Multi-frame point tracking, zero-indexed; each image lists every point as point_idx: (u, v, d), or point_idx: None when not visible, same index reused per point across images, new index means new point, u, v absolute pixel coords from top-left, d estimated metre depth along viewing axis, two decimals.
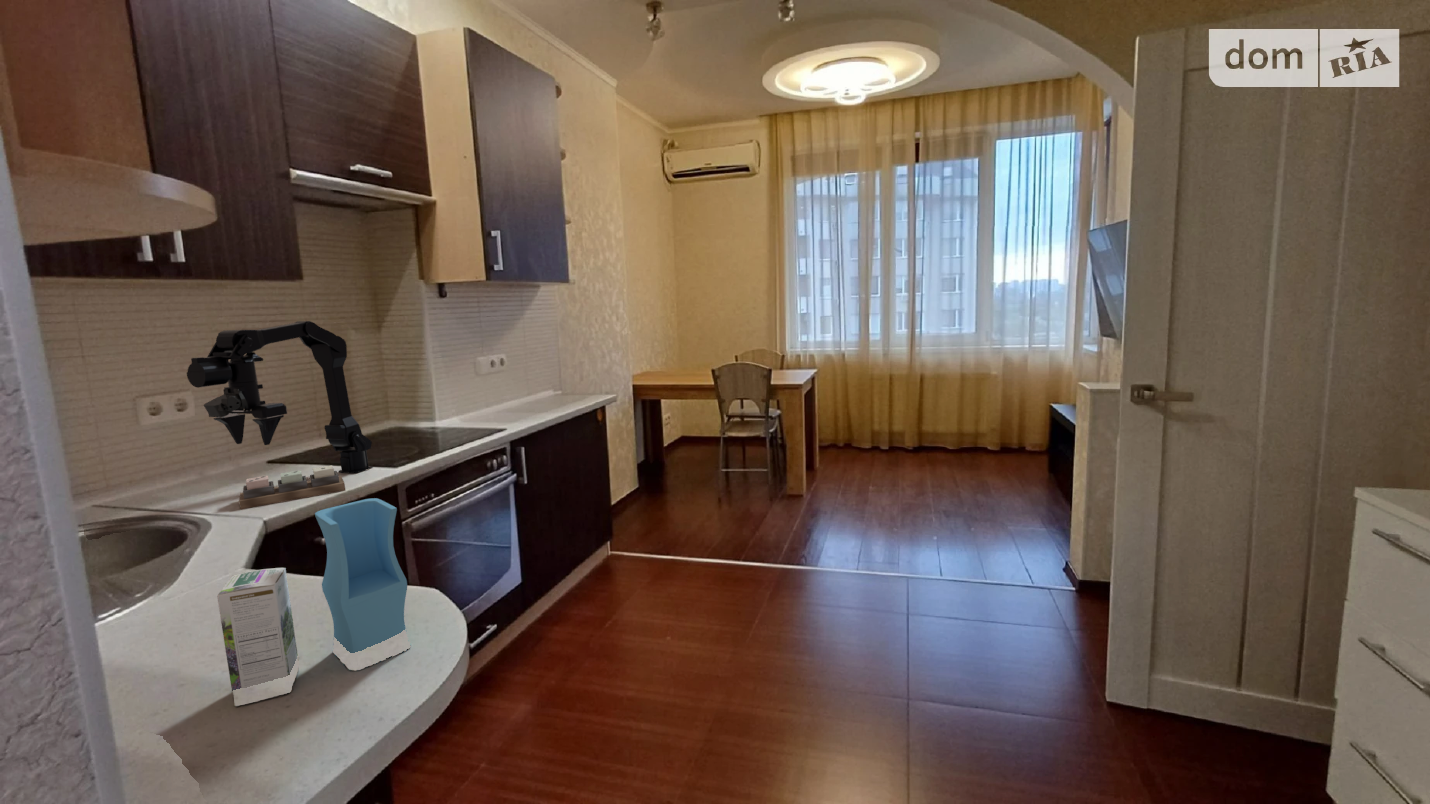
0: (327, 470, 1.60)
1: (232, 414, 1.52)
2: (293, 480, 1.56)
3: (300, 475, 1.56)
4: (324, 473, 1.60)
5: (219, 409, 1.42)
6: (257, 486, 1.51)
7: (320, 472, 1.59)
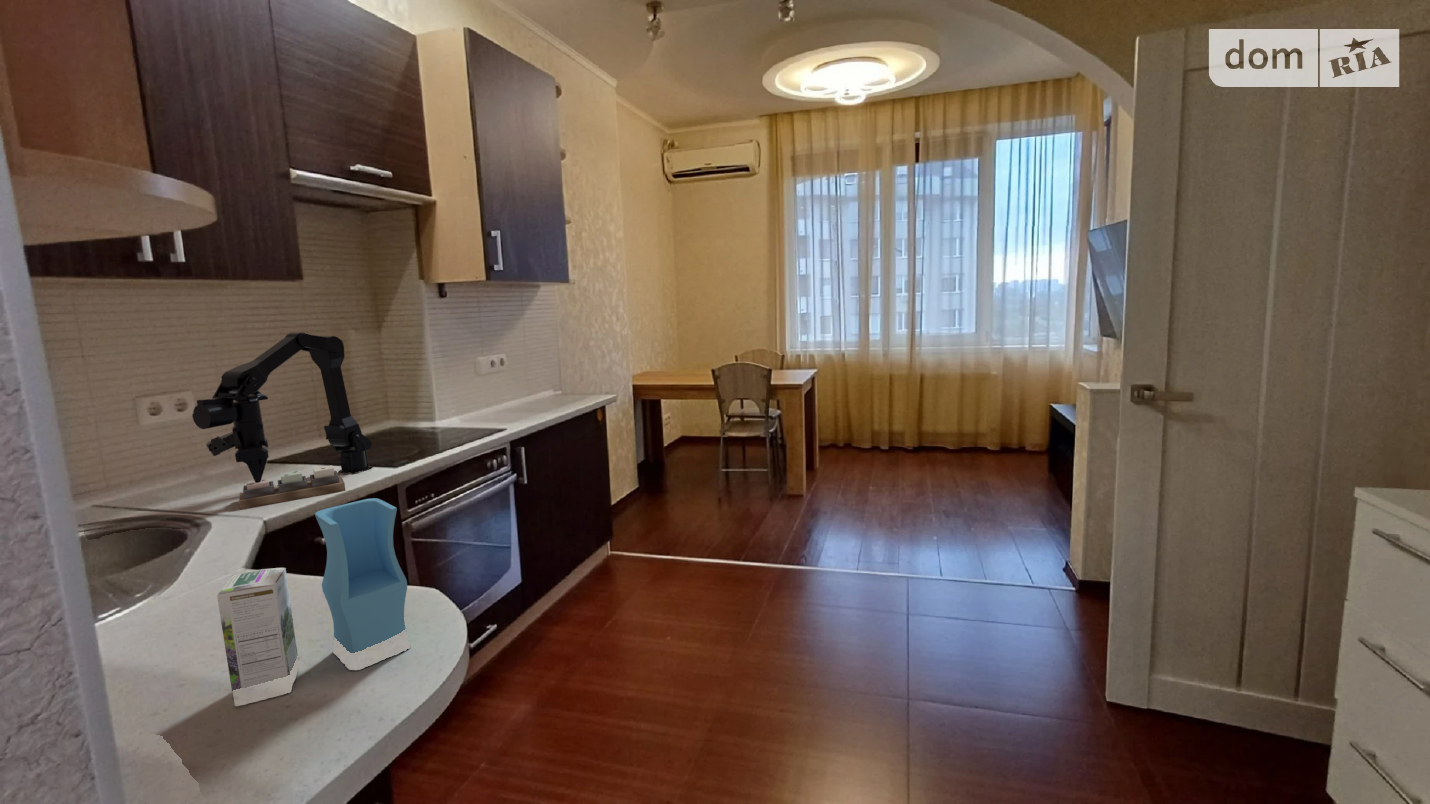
0: (327, 470, 1.60)
1: None
2: (293, 480, 1.56)
3: (300, 475, 1.56)
4: (324, 473, 1.60)
5: (209, 449, 1.45)
6: None
7: (320, 472, 1.59)
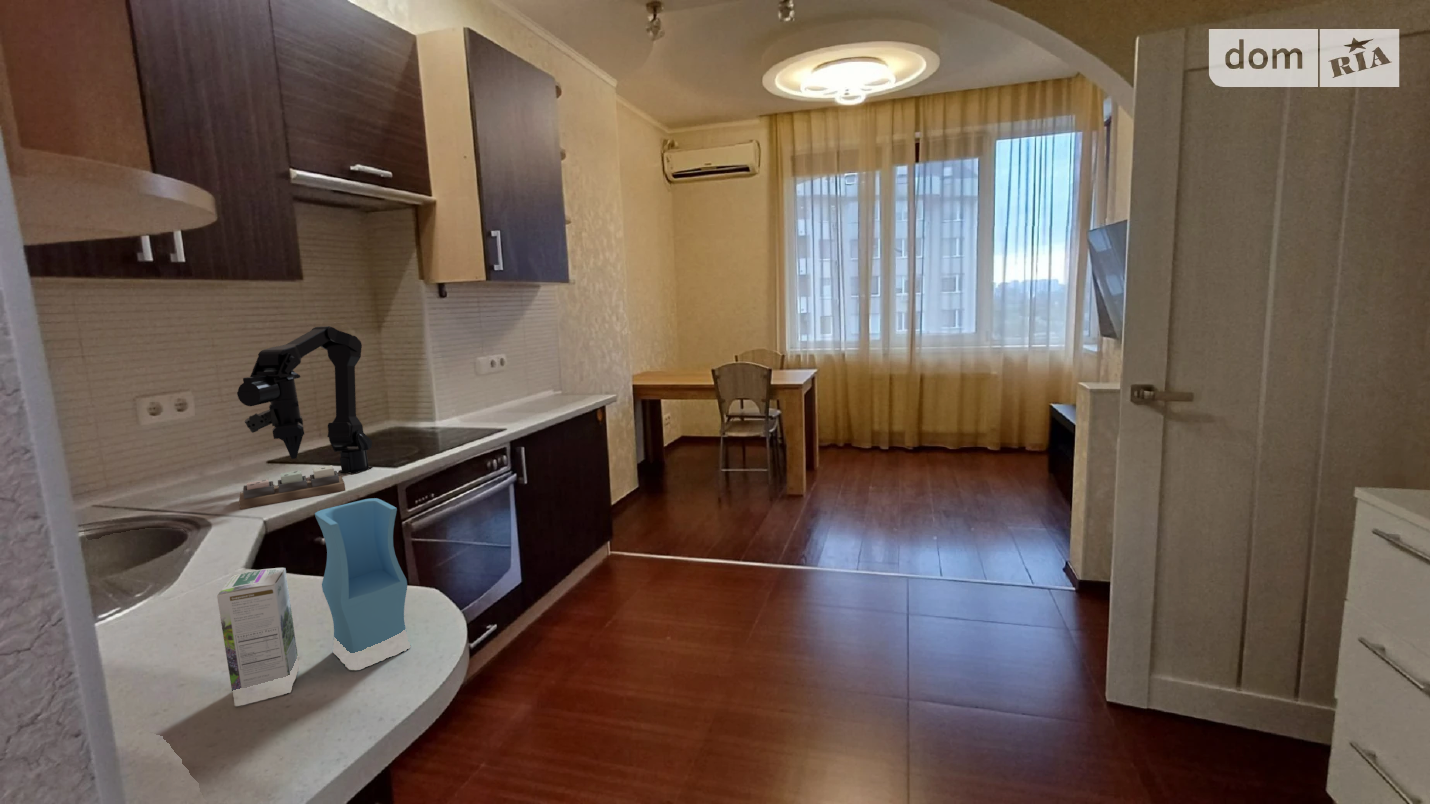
0: (327, 470, 1.60)
1: None
2: (293, 480, 1.56)
3: (300, 475, 1.56)
4: (324, 473, 1.60)
5: None
6: None
7: (320, 472, 1.59)
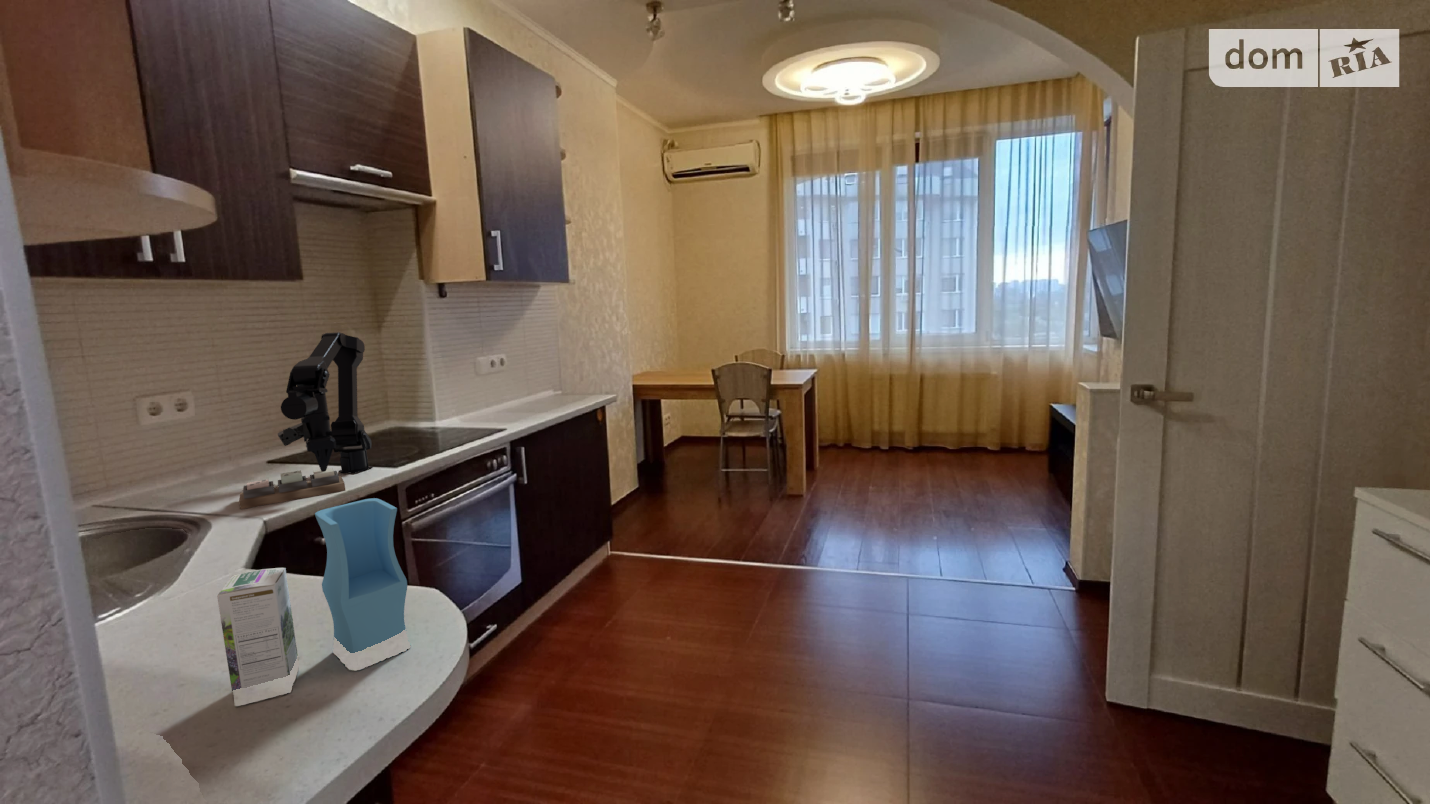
0: (327, 473, 1.60)
1: None
2: (293, 480, 1.56)
3: (300, 475, 1.56)
4: (324, 476, 1.60)
5: (280, 439, 1.53)
6: None
7: (320, 475, 1.59)
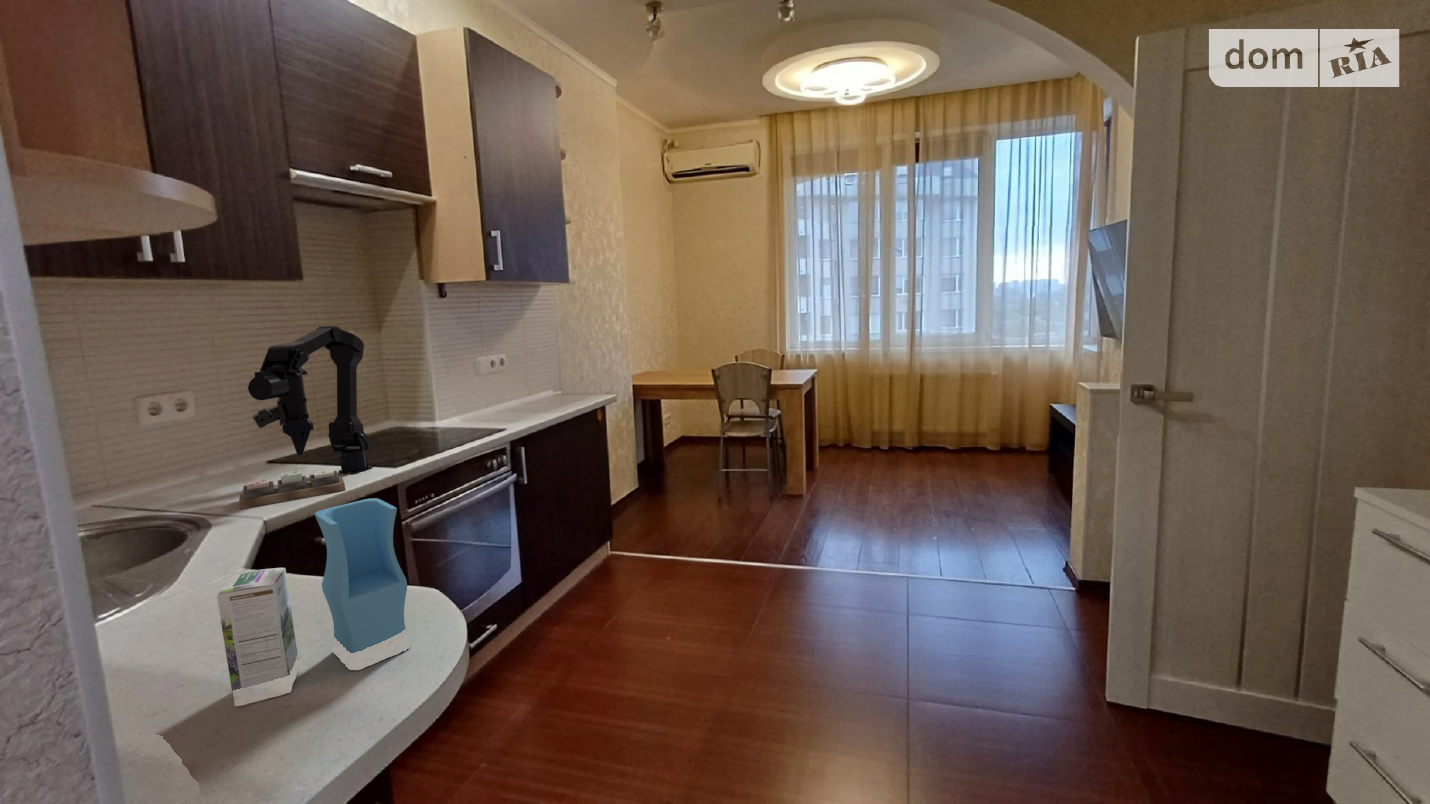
0: (327, 474, 1.60)
1: None
2: (293, 480, 1.56)
3: (300, 475, 1.56)
4: None
5: (255, 421, 1.49)
6: None
7: (320, 476, 1.59)
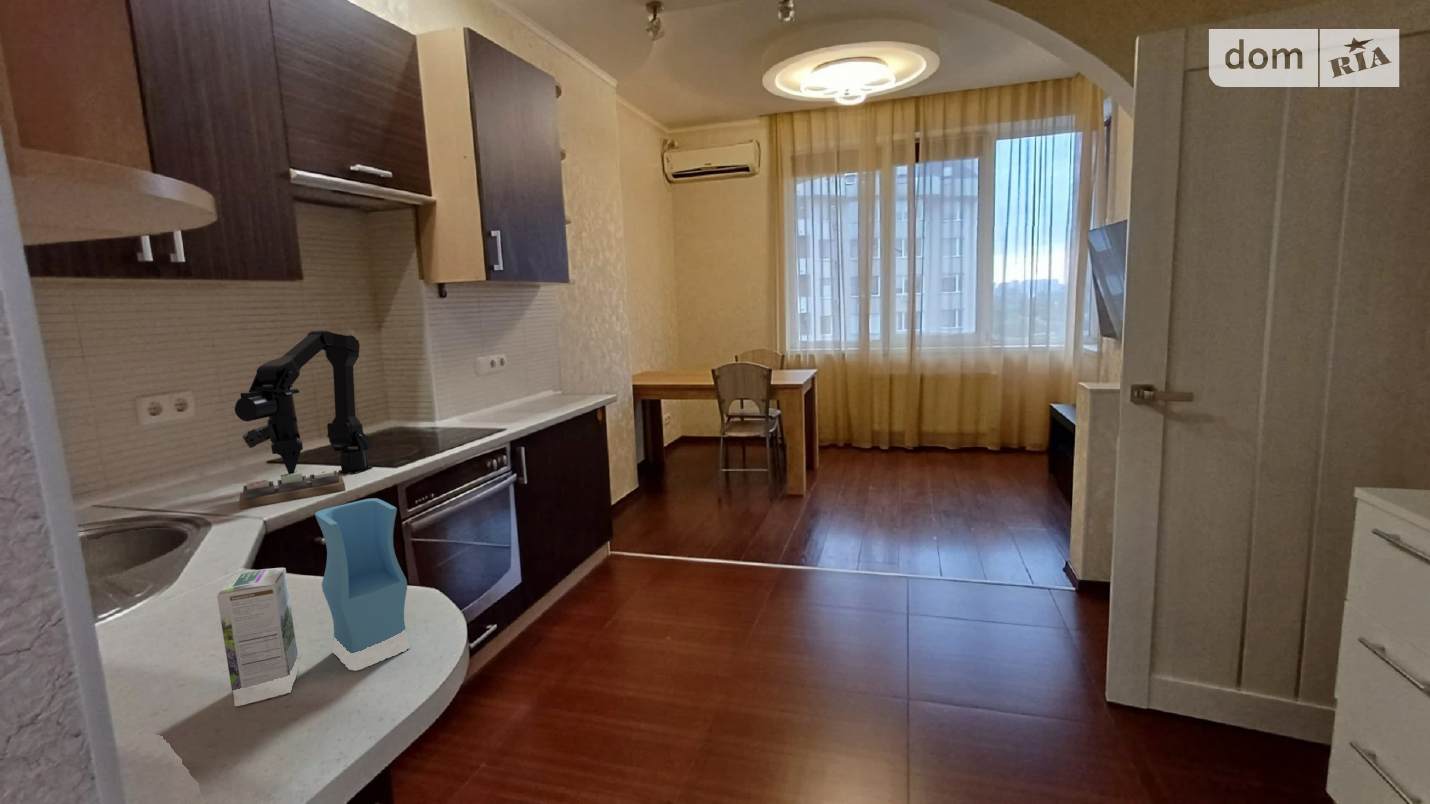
0: (327, 474, 1.60)
1: None
2: (293, 480, 1.56)
3: (300, 475, 1.56)
4: None
5: None
6: None
7: (320, 476, 1.59)
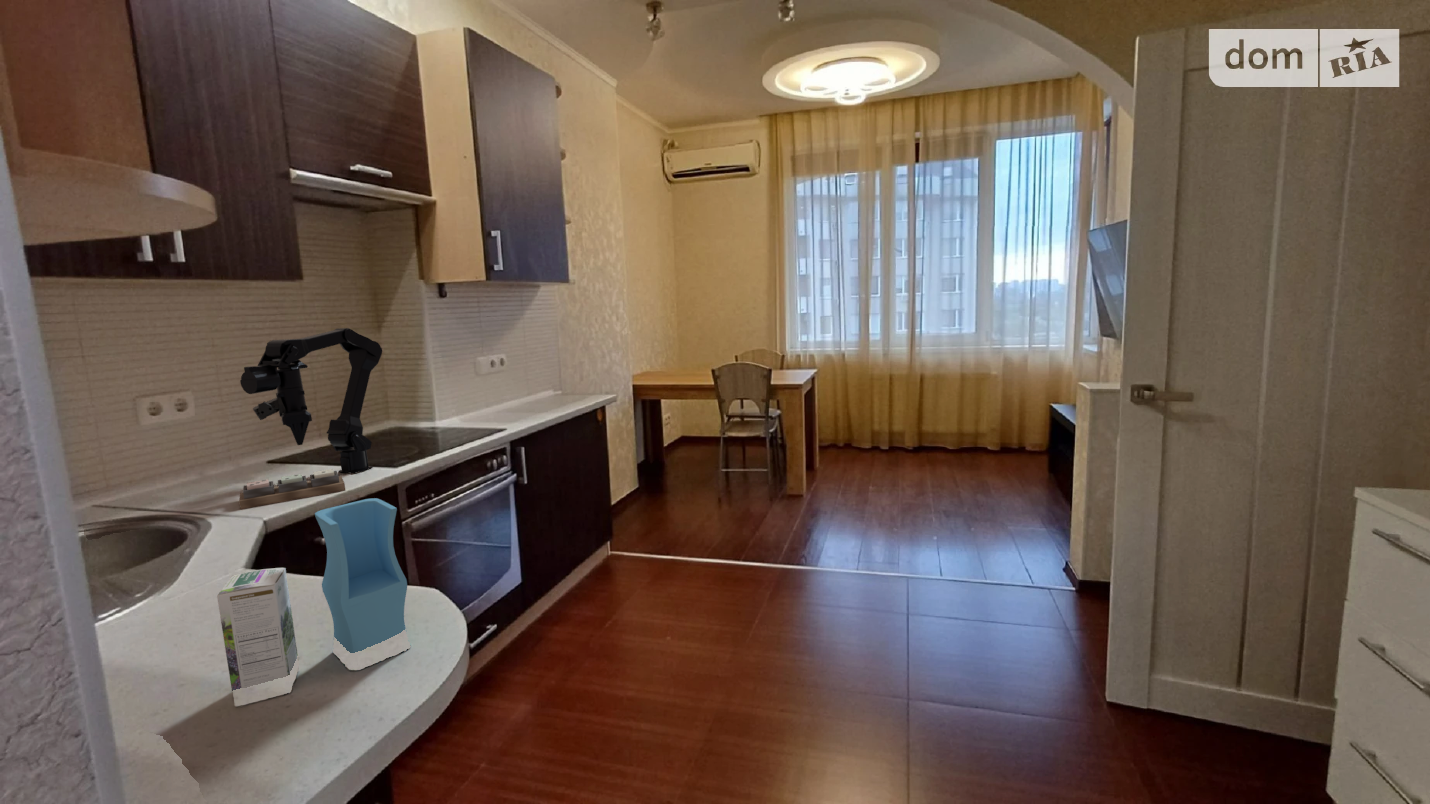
0: (327, 474, 1.60)
1: None
2: None
3: (301, 479, 1.57)
4: None
5: (256, 413, 1.56)
6: None
7: (320, 476, 1.59)
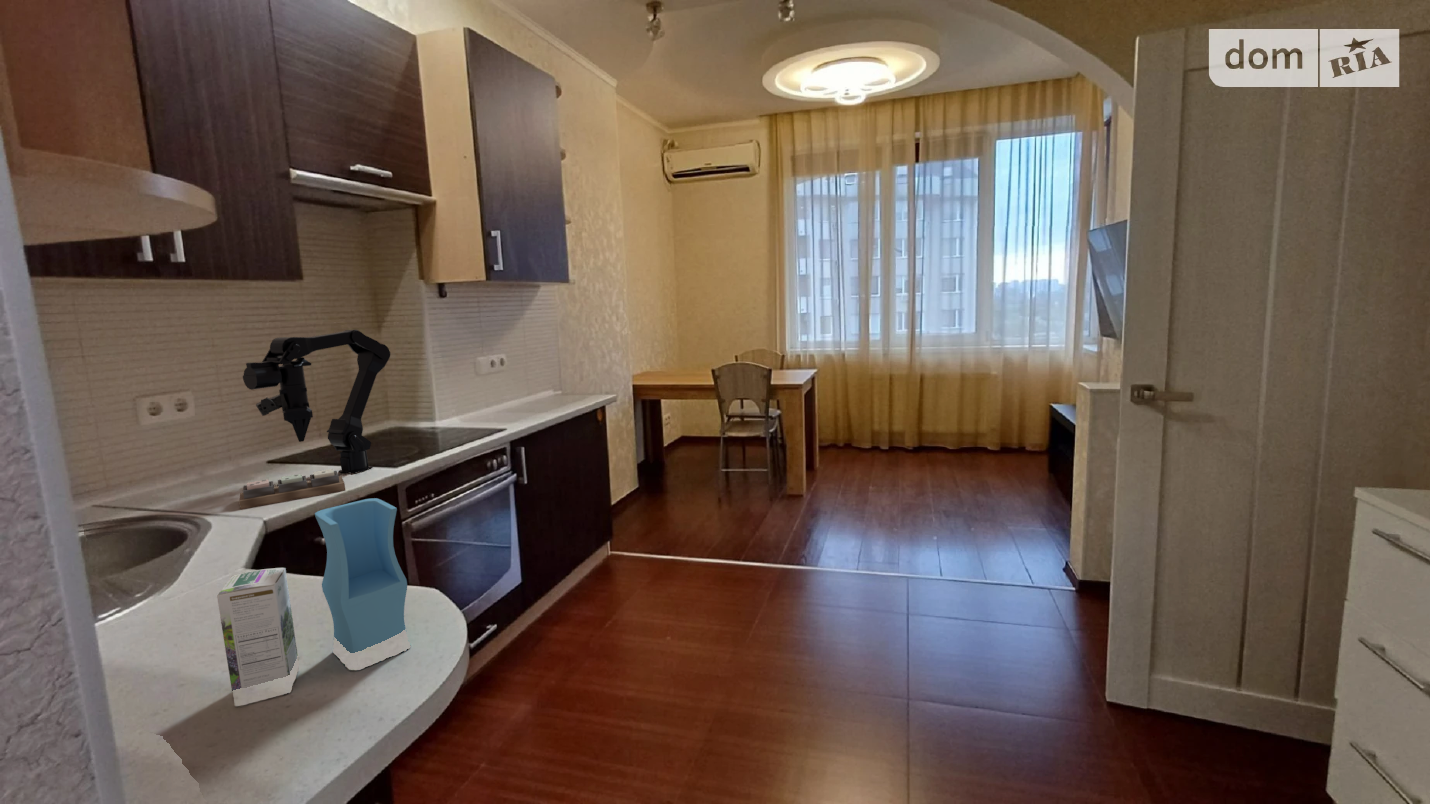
0: (327, 474, 1.60)
1: None
2: None
3: (301, 479, 1.57)
4: None
5: (258, 409, 1.58)
6: None
7: (320, 476, 1.59)
